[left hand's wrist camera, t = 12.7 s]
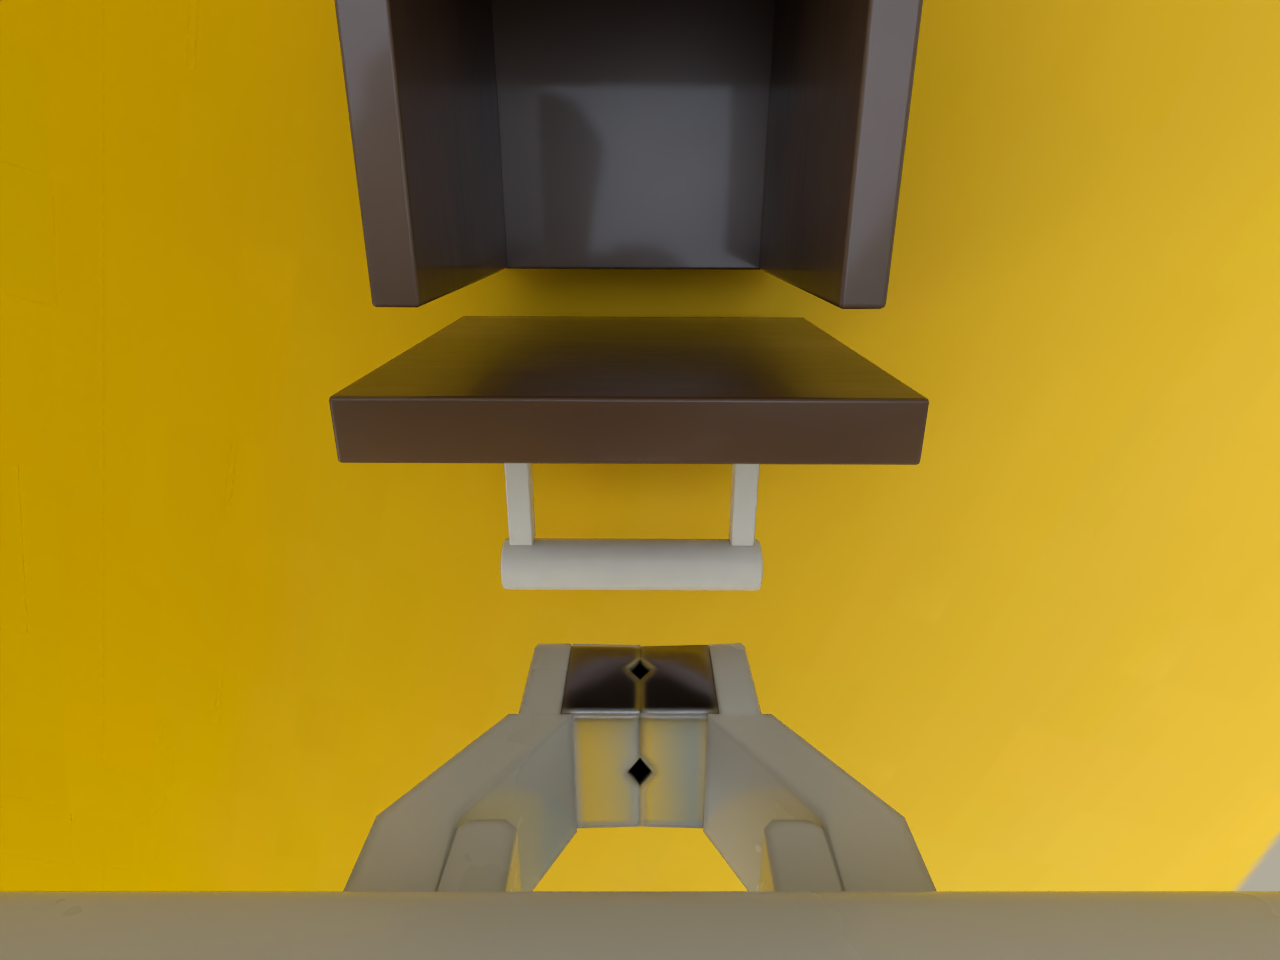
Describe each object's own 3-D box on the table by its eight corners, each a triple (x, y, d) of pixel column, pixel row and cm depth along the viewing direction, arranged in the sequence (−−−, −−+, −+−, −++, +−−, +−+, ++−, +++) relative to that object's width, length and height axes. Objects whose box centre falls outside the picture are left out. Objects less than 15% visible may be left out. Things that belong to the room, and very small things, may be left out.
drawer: (788, 517, 24) (883, 713, 14) (478, 516, 24) (375, 712, 14) (872, -493, 15) (1226, -1560, 6) (394, -497, 15) (24, -1575, 6)
